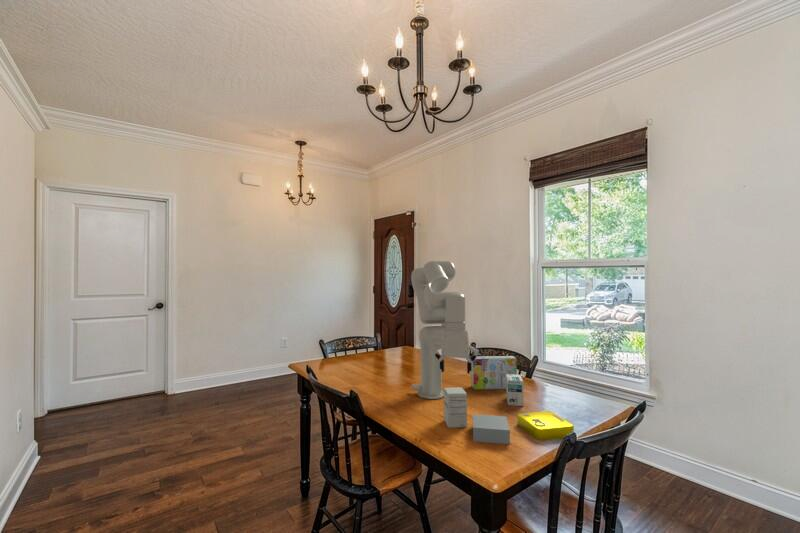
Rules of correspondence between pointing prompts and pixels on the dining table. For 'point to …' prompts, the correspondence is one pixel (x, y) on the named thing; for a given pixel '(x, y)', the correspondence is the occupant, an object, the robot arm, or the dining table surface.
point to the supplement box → (455, 407)
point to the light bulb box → (515, 389)
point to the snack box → (492, 371)
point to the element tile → (544, 425)
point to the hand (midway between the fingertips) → (455, 372)
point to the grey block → (491, 429)
